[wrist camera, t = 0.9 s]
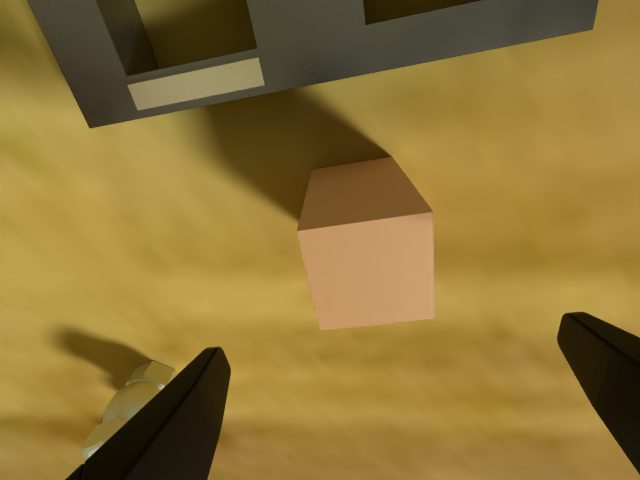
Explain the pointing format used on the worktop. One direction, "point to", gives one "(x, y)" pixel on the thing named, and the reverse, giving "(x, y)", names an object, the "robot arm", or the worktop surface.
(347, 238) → the square peg
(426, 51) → the square hole board
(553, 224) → the worktop surface
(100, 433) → the valve
